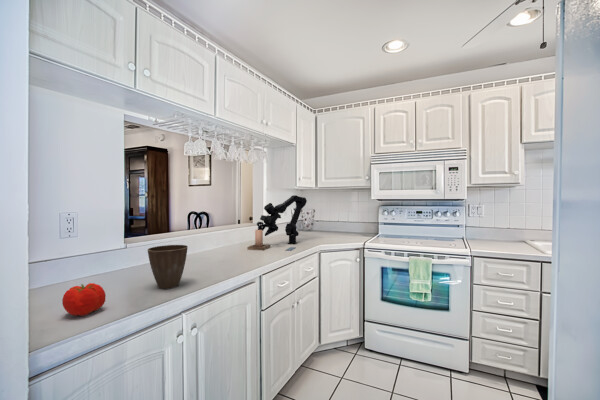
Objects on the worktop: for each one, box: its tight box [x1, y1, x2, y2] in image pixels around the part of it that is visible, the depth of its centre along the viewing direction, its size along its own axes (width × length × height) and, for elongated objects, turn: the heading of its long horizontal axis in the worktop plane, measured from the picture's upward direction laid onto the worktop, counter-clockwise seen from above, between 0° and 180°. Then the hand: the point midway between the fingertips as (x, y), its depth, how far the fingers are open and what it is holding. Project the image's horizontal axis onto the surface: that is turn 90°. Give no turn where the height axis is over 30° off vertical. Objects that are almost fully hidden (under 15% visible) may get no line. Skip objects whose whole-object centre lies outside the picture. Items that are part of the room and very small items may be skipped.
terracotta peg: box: [254, 229, 264, 247], centre depth 195 cm, size 5×5×13 cm
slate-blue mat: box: [284, 246, 296, 252], centre depth 196 cm, size 11×11×1 cm
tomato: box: [61, 282, 107, 317], centre depth 88 cm, size 11×11×9 cm
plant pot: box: [147, 244, 188, 290], centre depth 114 cm, size 15×15×16 cm
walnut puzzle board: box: [246, 243, 271, 251], centre depth 195 cm, size 12×12×2 cm
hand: (260, 235), depth 196 cm, fingers open, 9 cm apart
